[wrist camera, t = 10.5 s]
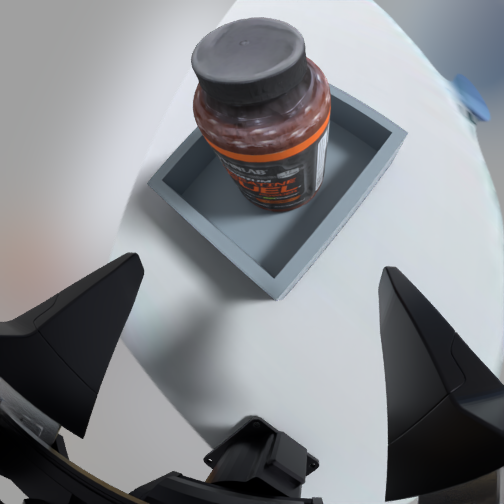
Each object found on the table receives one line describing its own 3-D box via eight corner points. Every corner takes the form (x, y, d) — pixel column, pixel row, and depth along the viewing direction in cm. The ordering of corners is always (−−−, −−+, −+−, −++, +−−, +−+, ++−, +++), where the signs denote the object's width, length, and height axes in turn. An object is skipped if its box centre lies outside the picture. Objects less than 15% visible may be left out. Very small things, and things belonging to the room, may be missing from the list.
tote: (282, 299, 18) (275, 300, 14) (173, 202, 21) (146, 183, 17) (392, 160, 18) (408, 132, 14) (280, 90, 20) (273, 58, 17)
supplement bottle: (232, 212, 18) (140, 116, 7) (243, 137, 19) (184, 16, 8) (323, 218, 17) (338, 104, 6) (325, 138, 18) (326, 3, 7)
